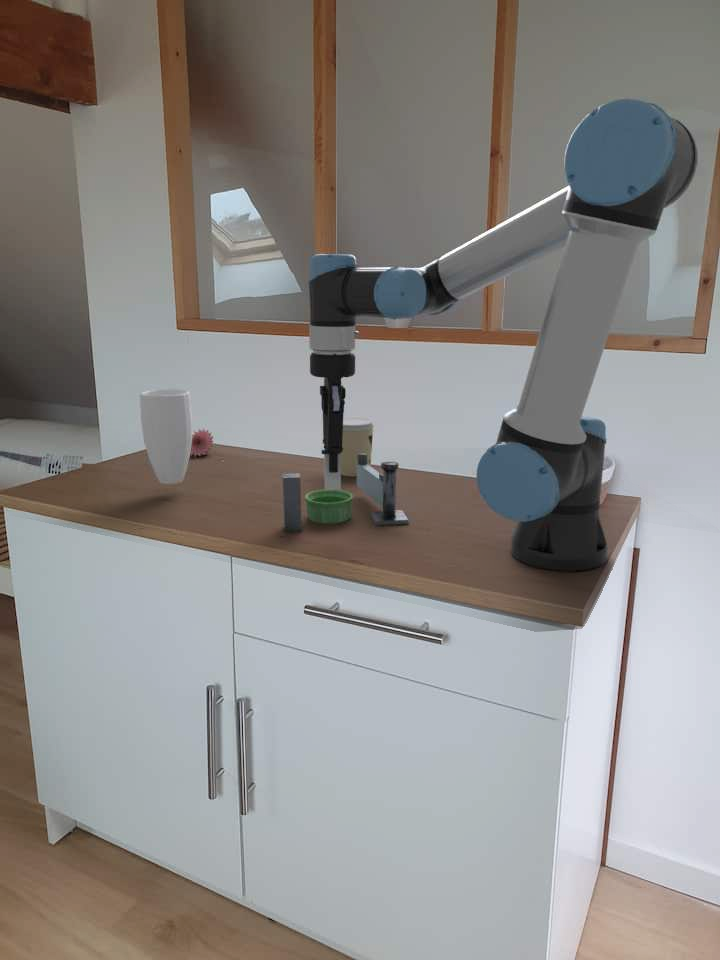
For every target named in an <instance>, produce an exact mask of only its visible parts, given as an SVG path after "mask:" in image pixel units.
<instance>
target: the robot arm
mask: <svg viewBox="0 0 720 960" xmlns="http://www.w3.org/2000/svg"><path fill="white" fill-rule="evenodd" d="M698 153H699V152H698V149H697V143H696V140H695V138H694V136H693V135H692V133H691V131H690V130H689V129H688V128H687V127H686V125H684V124H683V123H682V122H681V121H679V120H678V119H676V118H673V117H672V116H670V115H669V114H668V113H667V112H666V111H665V109H663V108H662V107H660V106H659V105H657V104H655V103H652V102H647V101H645V100H641V99H637V98H620V99H614V100H611V101H609V102H606V103H604V104H602V105H600V106H598V107H596V108H595V109H594V110H592V111H591V112H588V114H586V116H585V117H584V118H583V119H582V120H581V121H580V122H579V124H577V126H576V128H575V129H574V130H573V132H572V134H571V136H570V138H569V140H568V143H567V145H566V149H565V153H564V159H563V161H564V172H565V177H566V181H567V183H568V186H566V187H564V188H562V189H561V190H560V191H557V192H556V193H553V194H552V195H551V196H548V197H547V198H545V199H543V200H541V201H539V202H538V203H536V204H533V205H532V206H531V207H528V208H526V209H525V210H523V211H521V212H519V213H517V214H516V215H514V216H512V217H511V218H508V219H507V220H505V221H503V222H501V223H499V224H498V225H496V226H494V227H493V228H491V229H489V230H487V231H485V232H484V233H481V234H480V235H478V236H476V237H474V238H473V239H471V240H469V241H467V242H466V243H464V244H463V245H461V246H458V247H456V248H455V249H452V250H451V251H449V252H448V253H446V254H444V255H441V257H439V258H437V259H435V260H434V261H432V262H430V263H428V264H426V265H425V266H422V267H404V266H392V267H387V266H386V267H361V266H358V264H357V258H356V257H355V255H354V254H347V253H346V254H345V253H344V254H342V253H339V254H338V253H334V254H333V253H330V254H329V253H327V254H326V253H320V254H318V253H317V254H315V255H313V256H312V257H311V258H310V263H309V274H308V275H309V277H308V288H309V312H310V313H309V315H310V319H309V320H310V321H309V345H308V346H309V349H310V350H311V351H312V352H311V354H309V372H310V373H309V374H310V375H311V376H313V377H316V378H323V380H324V381H323V385H320V386H319V394H320V396H321V399H320V400H321V401H320V402H321V411H322V444H323V449H321V455H324V456H323V458H324V459H323V460H324V461H323V465H324V466H323V468H324V469H323V471H324V472H323V477H324V478H323V479H324V480H323V482H324V483H323V485H324V486H323V487H324V488H323V490H342V489H341V487H342V486H341V484H342V483H341V482H342V479H341V478H342V475H341V452H342V450H343V446H342V439H343V419H344V412H345V404H346V401H345V399H346V387H345V386H344V385H342V379H343V378H350V377H354V375H355V374H356V355H355V353H354V352H352V351H354V350H355V349H356V339H355V338H358V337H359V336H360V332H359V331H357V330H356V319H357V317H369V318H383V319H390V320H404V319H406V320H407V319H409V320H410V319H413V318H416V316H425V315H427V316H437V315H439V314H442V313H445V312H449V311H450V310H452V309H453V307H455V306H456V305H457V303H458V302H459V301H460V300H462V299H465V298H466V297H468V296H470V295H472V294H474V293H476V292H479V291H480V290H482V289H485V288H486V287H488V286H490V285H492V284H494V283H497V282H498V281H500V280H503V279H504V278H506V277H509V276H511V275H512V274H514V273H516V272H519V271H520V270H522V269H524V268H527V267H528V266H531V265H532V264H534V263H536V262H538V261H540V260H542V259H544V258H547V257H548V256H550V255H552V254H554V253H556V252H559V251H561V250H562V249H563V252H562V256H561V259H560V262H559V265H558V269H557V273H556V276H555V280H554V284H553V287H552V290H551V294H550V297H549V301H548V303H547V307H546V310H545V313H544V317H543V321H542V324H541V327H540V330H539V334H538V337H537V342H536V345H535V349H534V351H533V353H532V358H531V362H530V366H529V369H528V372H527V375H526V379H525V382H524V385H523V389H522V392H521V395H520V399H519V403H518V405H517V406H516V407H515V408H513V409H511V410H508V411H506V412H505V414H504V415H503V418H502V422H501V426H500V428H499V433H498V434H497V435H498V436H497V440H496V442H495V444H493V445H491V446H490V447H488V448H487V450H486V451H485V452H484V454H482V455H481V458H480V459H479V461H478V464H477V469H476V482H477V483H476V484H477V488H478V491H479V493H480V495H481V496H482V497H483V499H484V502H485V503H486V505H487V506H488V507H489V508H490V509H491V510H492V511H493V512H494V513H495V514H497V515H498V516H501V517H502V518H504V519H505V520H506V519H507V520H509V521H513V522H517V523H516V526H515V527H514V528H515V529H514V531H513V533H512V536H511V542H510V544H511V545H510V553H511V555H512V556H513V557H514V559H516V560H518V561H520V562H522V563H524V564H526V565H529V566H532V567H535V568H539V569H543V568H544V570H549V569H550V571H556V570H557V571H558V570H560V571H558V572H577V571H576V570H583V571H588V570H587V569H590V570H593V568H594V569H596V568H597V569H598V568H600V567H601V566H604V564H605V563H606V562H607V556H608V543H607V539H606V535H605V531H604V526H603V523H602V519H601V515H600V505H601V494H602V483H603V481H602V480H603V471H604V461H605V460H604V459H605V451H606V450H605V447H606V444H607V437H606V434H607V432H606V429H607V428H606V424H605V422H604V421H602V420H601V419H600V418H595V417H589V416H583V414H584V410H585V407H586V404H587V401H588V398H589V395H590V392H591V390H592V386H593V383H594V379H595V377H596V374H597V371H598V368H599V364H600V361H601V359H602V356H603V352H604V350H605V348H606V343H607V340H608V337H609V335H610V331H611V328H612V325H613V322H614V320H615V317H616V312H617V310H618V308H619V305H620V301H621V298H622V295H623V292H624V289H625V286H626V283H627V280H628V277H629V273H630V270H631V267H632V266H633V265H632V264H633V262H634V258H635V255H636V252H637V249H638V246H639V245H640V244H641V243H642V242H643V241H644V240H645V241H646V239H648V238H650V237H652V236H654V235H655V234H656V233H657V230H658V226H659V224H660V221H661V218H662V214H663V212H664V209H665V208H668V207H669V206H671V205H673V204H674V203H675V202H676V201H677V200H679V198H681V197H682V196H683V194H684V193H685V192H686V191H687V189H688V188H689V187H690V184H691V183H692V182H693V179H694V177H695V174H696V171H697V166H698Z"/></svg>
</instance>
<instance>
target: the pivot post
mask: <svg viewBox="0 0 720 960" xmlns="http://www.w3.org/2000/svg"><path fill="white" fill-rule="evenodd" d="M380 467H381V469H382V473H383V507H382V510H376V511H375V510H374V511H370V517H371V518H372V520H373V523H374V524H375V526H393V525H409V519H408V517H407V516H406V514H405V513H404V511H403V510H402V509H398V510H397V470H399V463H398V462H396V461H384V462H381V464H380Z"/></svg>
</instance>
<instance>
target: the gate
mask: <svg viewBox="0 0 720 960" xmlns="http://www.w3.org/2000/svg"><path fill="white" fill-rule="evenodd" d="M356 486H357V488H359V490H361V491H362V492H363V493H365V494H366V496H368V497H369V498H371V500H373V501H374V502H375V503H376V504H377V505H379V506H380V507H381V508H383V472H382V473H381V472H379V471H377V469H375V468H374V467H372V466H371V465H370V466H369V465H368V464H367V454H366V453H359V454H358V462H357V476H356Z"/></svg>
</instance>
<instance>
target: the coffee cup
mask: <svg viewBox="0 0 720 960" xmlns="http://www.w3.org/2000/svg"><path fill="white" fill-rule="evenodd" d="M374 426H375V425H374V423H373V421H372V420H371V419H368V418H359V417H358V418H357V417H352V418H351V417H349V418H347V417H346V418H343V439H342V446H343V450H342V452H341V476H345V477H357V462H358V454H359V453H366V454H367V464H368V465H369V466H370V467H371V465H372V464H371V463H372V462H371V461H372V452H373V451H372V449H373V435H374V434H373V433H374V432H373V431H374Z"/></svg>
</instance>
